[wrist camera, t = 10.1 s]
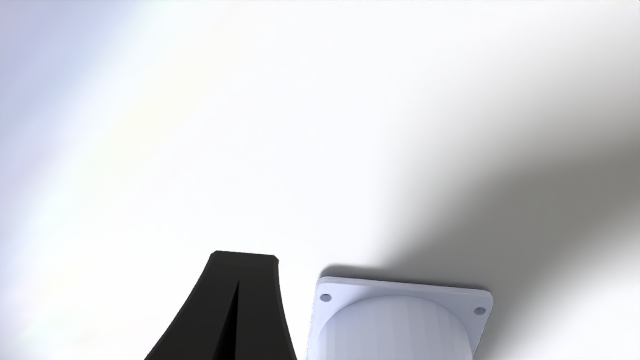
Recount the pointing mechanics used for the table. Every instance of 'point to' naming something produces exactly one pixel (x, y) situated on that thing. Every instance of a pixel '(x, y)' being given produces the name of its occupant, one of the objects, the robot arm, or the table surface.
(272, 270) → the robot arm
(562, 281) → the table surface
